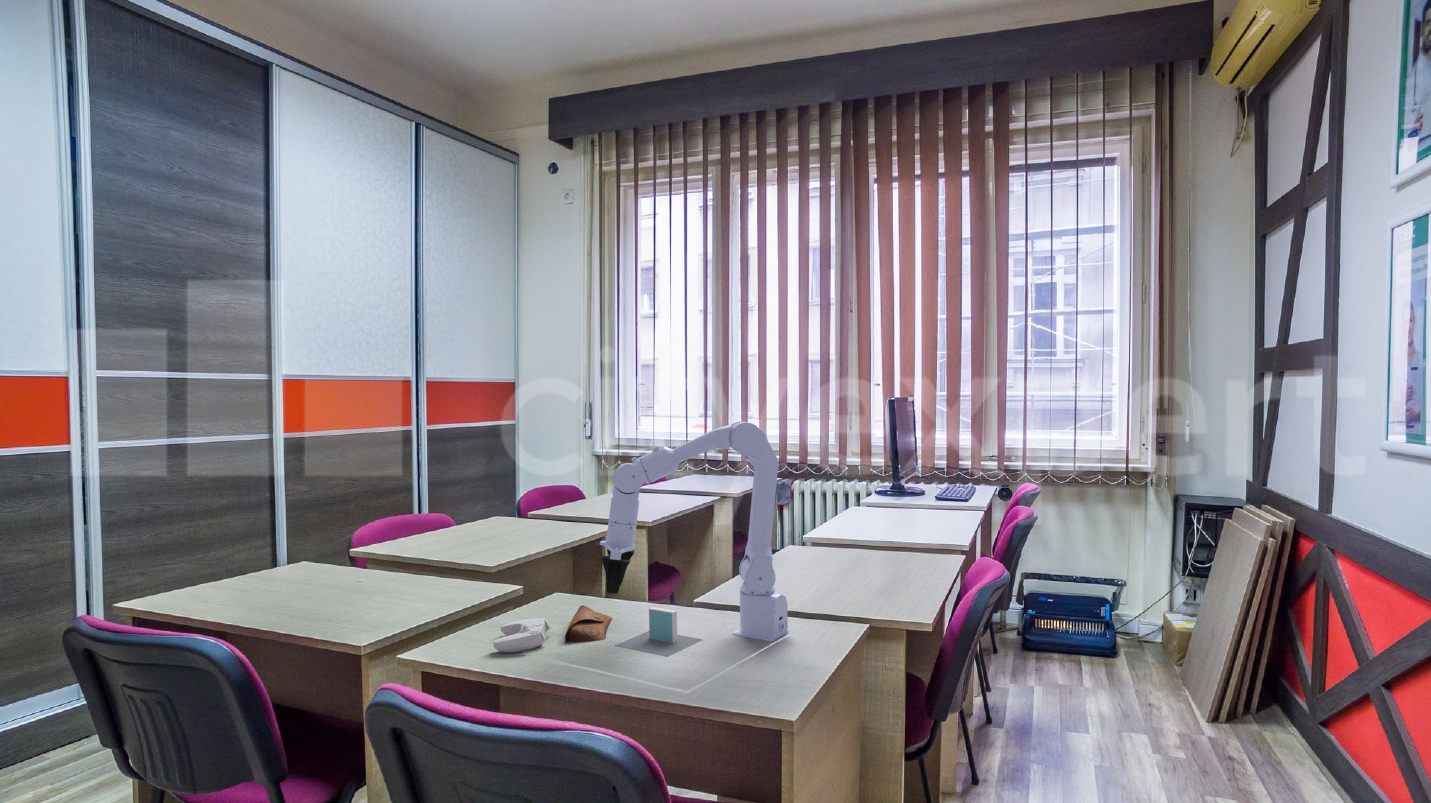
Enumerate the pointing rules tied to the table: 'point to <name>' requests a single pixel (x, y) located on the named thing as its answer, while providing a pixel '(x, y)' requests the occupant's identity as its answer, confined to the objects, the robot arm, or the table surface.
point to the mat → (658, 644)
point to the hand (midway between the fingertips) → (614, 588)
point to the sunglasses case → (587, 626)
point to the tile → (663, 624)
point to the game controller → (522, 635)
